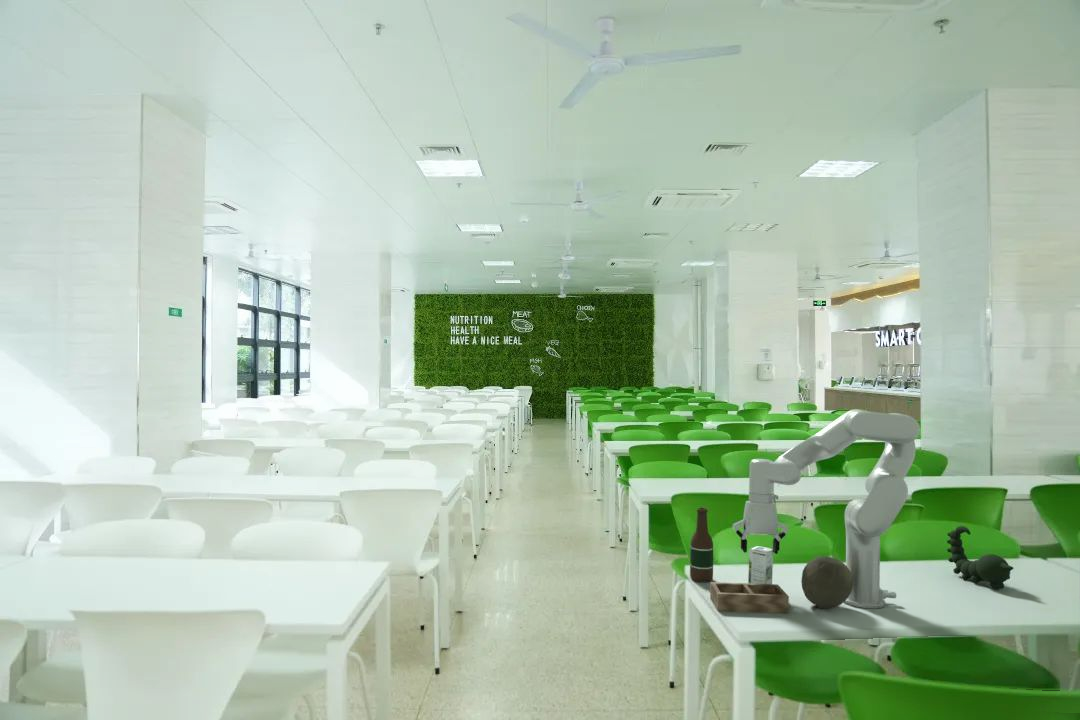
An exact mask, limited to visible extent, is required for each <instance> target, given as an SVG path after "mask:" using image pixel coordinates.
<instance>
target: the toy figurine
mask: <svg viewBox="0 0 1080 720" xmlns="http://www.w3.org/2000/svg"><path fill="white" fill-rule="evenodd" d="M963 533H967V534H968V535H969V536H970V535H971V531H970V529H969V528H968V527H967V526H964V525H960V526H957V527H955V529H954V530H951V531H950V532H947V534H946V535H947V536H948V537H950V538H949V539H948V540H946V543H947V544H948V545H950V548H947V549H946V551H947V553H951V557H948V559H947V560H948V562H949V563H954V564H955V567H954V568H953V573H954V574H955V575H960V573H961V579H962V580H963V581H967V580H970V581H971V582H972V583H974V584H978V583H979V582H986V583H989V587H990V588H991V589H993V590H995V591H997V590H998V591H1000V590H1002V589H1004V587H1005V584H1004V583H1005V582H1006V581H1008V580H1010V579H1011V571H1013V570H1014V566H1011V565H1010V564H1009V563H1008V562H1007V560H1006V559H1004V558H1003V557H1001V556H1000V555H997V554H994V553H988V554H984V555H982V556H980V557H979V558H978V559H977V560H969V559H968V557H967V555H966V553H965V548H964V547H963V540H962V538H961V537H962V536H961V534H963Z"/></svg>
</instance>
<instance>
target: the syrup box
mask: <svg viewBox="0 0 1080 720" xmlns="http://www.w3.org/2000/svg"><path fill="white" fill-rule="evenodd" d="M773 558H774V552H773V548H770V547H765V546H758V545H756V546H754V547H752V548H750V549H749V550H748V577H747V578H748V582H747V583H748V584H773V568H774V567H773V566H774V565H773V564H774V563H773V562H774V559H773Z"/></svg>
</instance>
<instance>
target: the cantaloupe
mask: <svg viewBox="0 0 1080 720" xmlns="http://www.w3.org/2000/svg"><path fill="white" fill-rule="evenodd" d="M800 581H801V587H802V591H803V594H804V596H805V598H806V599H807V601H809V603H811V604H813V605H815V606H817V608H820V609H822V610H830V609H834V608H837V607H839V606H841V605H842V604H844V603H845V602H844V601H845V600H846V599H847V598H848V597H849V595H850V593H851V591H852V588H853V576H852V574H851V572H850V570H849V569H848V567H847V566H846V563H844V562H843V561H841V560H839V558H835V557H831V556H825V555H821V556H820V555H819V556H816V557H814V558H812V559H810V560H809V561H808V562H807V563H806V565H804V568H803V569H802V573H801V580H800Z"/></svg>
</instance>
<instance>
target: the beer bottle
mask: <svg viewBox="0 0 1080 720" xmlns="http://www.w3.org/2000/svg"><path fill="white" fill-rule="evenodd" d="M696 512H697V513H696V514H697V515H696V528H695V531H694V532H693V534H692V535H691V538H690V545H689V546H690V547H689V550H690V551H689V577H690V579H691V580H692V581H694V582H698V583H710V582H713V580H714V579H713V578H714V542H713V538H712V536H711V535H710V533H709V529H708V508H707V507H698V508H696Z"/></svg>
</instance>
